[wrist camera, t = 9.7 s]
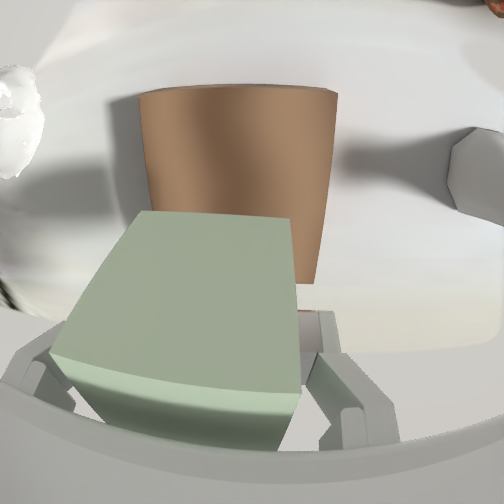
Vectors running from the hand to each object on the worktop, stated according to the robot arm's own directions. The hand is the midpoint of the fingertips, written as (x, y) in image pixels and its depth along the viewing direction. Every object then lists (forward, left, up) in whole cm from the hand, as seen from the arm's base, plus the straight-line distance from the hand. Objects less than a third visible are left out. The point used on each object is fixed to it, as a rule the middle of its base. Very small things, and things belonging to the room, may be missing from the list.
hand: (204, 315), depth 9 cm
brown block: (0, 0, -13) cm, 13 cm away
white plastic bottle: (+24, -6, -12) cm, 27 cm away
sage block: (0, 0, -2) cm, 2 cm away
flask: (-18, -3, -12) cm, 22 cm away
